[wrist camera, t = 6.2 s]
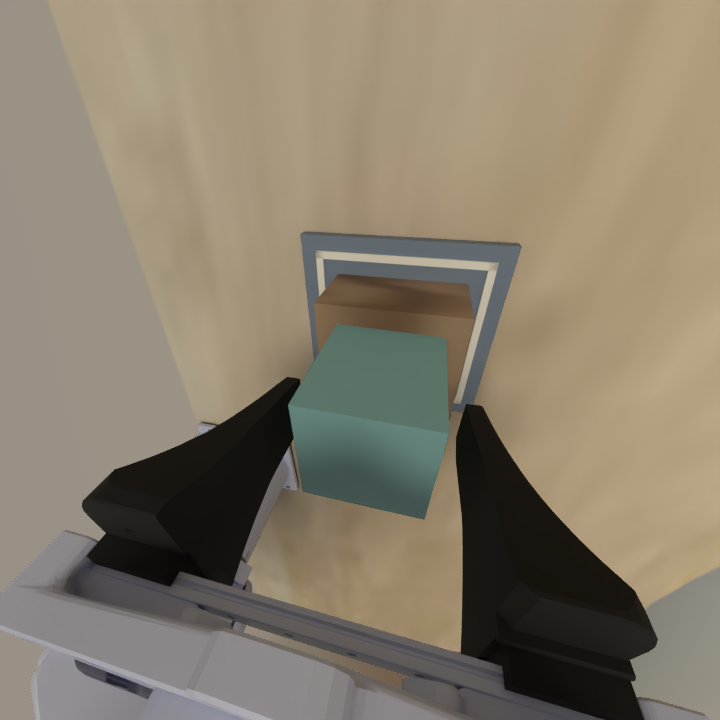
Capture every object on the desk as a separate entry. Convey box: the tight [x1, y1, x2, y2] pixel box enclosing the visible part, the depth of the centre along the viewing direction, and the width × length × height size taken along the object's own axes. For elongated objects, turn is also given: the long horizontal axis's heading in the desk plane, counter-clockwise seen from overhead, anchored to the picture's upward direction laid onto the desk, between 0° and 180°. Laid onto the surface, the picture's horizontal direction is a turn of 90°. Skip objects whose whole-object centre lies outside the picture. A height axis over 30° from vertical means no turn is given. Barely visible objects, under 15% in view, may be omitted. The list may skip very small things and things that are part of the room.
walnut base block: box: [314, 274, 475, 419], centre depth 16 cm, size 7×7×4 cm
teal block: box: [288, 324, 449, 519], centre depth 13 cm, size 5×5×6 cm
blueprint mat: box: [301, 232, 521, 412], centre depth 18 cm, size 11×11×1 cm
